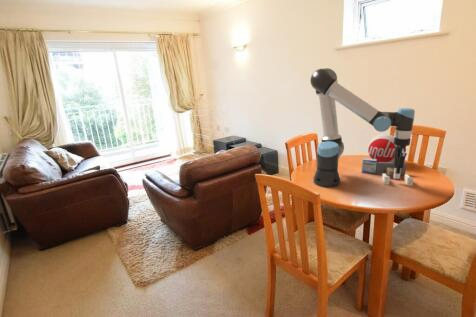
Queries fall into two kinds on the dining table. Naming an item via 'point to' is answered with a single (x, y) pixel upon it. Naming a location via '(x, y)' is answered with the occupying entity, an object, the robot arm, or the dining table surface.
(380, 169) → the block
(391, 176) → the block
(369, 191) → the dining table surface
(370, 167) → the medicine box
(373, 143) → the decorative sphere
